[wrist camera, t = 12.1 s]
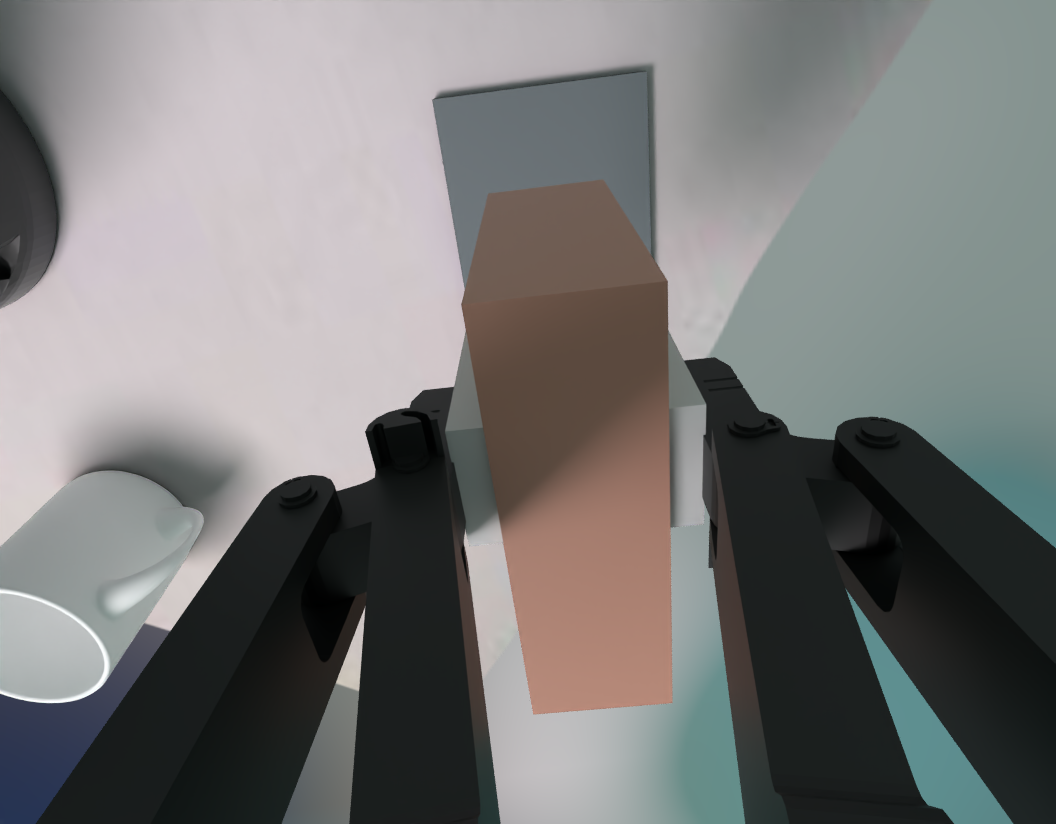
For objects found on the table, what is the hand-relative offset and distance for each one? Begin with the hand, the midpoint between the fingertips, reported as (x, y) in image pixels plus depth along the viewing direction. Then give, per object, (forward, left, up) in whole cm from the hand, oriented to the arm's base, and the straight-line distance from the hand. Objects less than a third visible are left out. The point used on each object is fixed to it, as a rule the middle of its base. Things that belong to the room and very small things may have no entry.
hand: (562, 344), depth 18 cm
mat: (0, -1, -18) cm, 18 cm away
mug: (-28, -16, -18) cm, 37 cm away
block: (0, -6, +2) cm, 7 cm away
